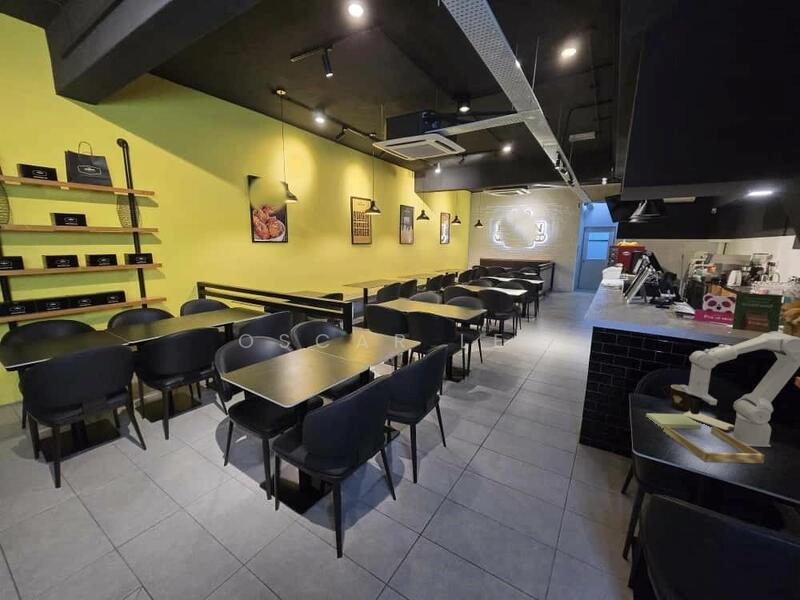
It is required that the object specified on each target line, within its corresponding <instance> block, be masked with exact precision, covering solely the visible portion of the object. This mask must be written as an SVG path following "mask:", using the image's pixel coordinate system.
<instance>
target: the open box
mask: <svg viewBox="0 0 800 600" xmlns="http://www.w3.org/2000/svg"><path fill="white" fill-rule="evenodd" d="M662 432H663V433H664V432H665V433H666V434H665V433H664V434H665V435H667V436H668V435H669V436H670V437H669V436H668V437H669V438H671V439H672V438H673V439H672V440H674V441H675V442H676V441H677V442H676V443H678V444H679V443H680V445H681V446H682V445H683V446H682V447H684V448H685V449H686V448H687V449H686V450H688V451H689V450H690V451H689V452H690V453H692V452H693V453H694V454H693V453H692V454H693V455H695V456H696V457H698V458H699V459H700V458H701V459H700V460H701V461H703V460H704V461H703V462H705V461H706V462H705V463H734V464H735V463H740V464H745V463H746V464H764V462H765V459H766V458H765V457H766V454H764V453H761V452H759V451H757V450H756V449H754V448H753V447H752V446H748V445H746V444H744V443H742V442H741V441H739V440H737V439H735V438H734V437H732V436H730V435H728V434H729V433H725V432H723V431H721V430H720V429H718V428H716V427H712V428H710V434H711V435H713V436H714V437H716V438H718V439H720V440H721V441H723V442H724V443H726V444H728V445H729V446H731V447H733V448H734V449H736V450H738V451H740V452H714V451H713V452H711V451H710V452H708V451H706V450H704V449H702V448H701V447H700V446H698V445H696V444H695V443H694V442H692V441H691V440H689V439H688V438H686V437H685V436H683V435H681V434H680V433H679V432H677V431H676V430H675V429H671V428H670V427H668V426H667V425H664V429H663V431H662Z"/></svg>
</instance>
